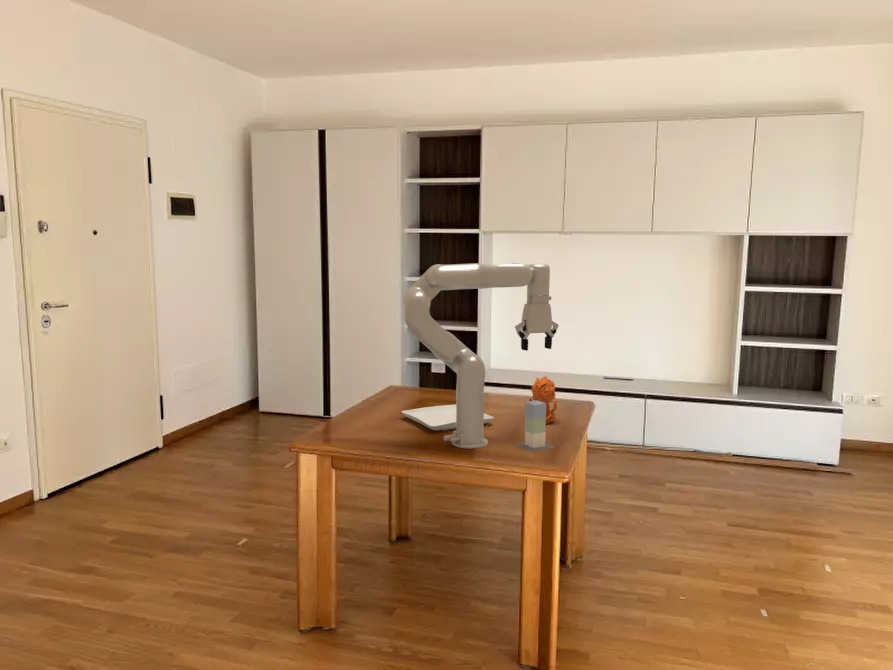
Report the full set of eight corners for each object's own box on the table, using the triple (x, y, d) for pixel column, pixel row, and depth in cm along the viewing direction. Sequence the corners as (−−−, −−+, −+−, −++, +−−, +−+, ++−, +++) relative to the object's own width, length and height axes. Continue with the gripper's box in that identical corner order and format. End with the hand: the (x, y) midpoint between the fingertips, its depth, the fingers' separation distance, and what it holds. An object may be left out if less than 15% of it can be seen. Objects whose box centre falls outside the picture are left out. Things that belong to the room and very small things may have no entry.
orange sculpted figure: (561, 420, 273) (562, 375, 271) (551, 427, 264) (552, 380, 262) (535, 417, 279) (536, 372, 277) (524, 423, 270) (525, 377, 267)
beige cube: (533, 448, 236) (533, 434, 235) (524, 444, 240) (525, 430, 239) (545, 446, 238) (545, 432, 237) (536, 442, 242) (536, 428, 242)
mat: (531, 452, 232) (531, 451, 232) (514, 444, 241) (514, 443, 241) (555, 448, 237) (555, 447, 237) (538, 441, 246) (538, 439, 246)
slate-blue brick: (533, 419, 234) (534, 405, 234) (525, 416, 239) (525, 402, 238) (545, 417, 237) (546, 403, 236) (536, 414, 241) (537, 400, 240)
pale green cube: (533, 434, 235) (533, 419, 234) (524, 430, 239) (525, 416, 239) (545, 432, 237) (545, 417, 237) (536, 428, 242) (536, 414, 241)
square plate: (495, 426, 267) (495, 416, 266) (431, 435, 254) (431, 425, 253) (460, 411, 290) (460, 402, 290) (400, 419, 277) (400, 409, 277)
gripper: (552, 298, 247) (550, 346, 249) (510, 299, 239) (509, 349, 241) (565, 300, 240) (563, 349, 242) (522, 301, 232) (521, 352, 234)
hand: (536, 349), depth 242 cm, fingers open, 9 cm apart
